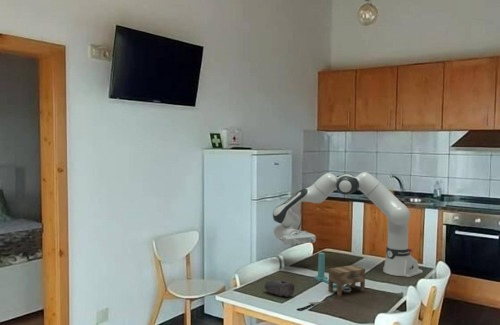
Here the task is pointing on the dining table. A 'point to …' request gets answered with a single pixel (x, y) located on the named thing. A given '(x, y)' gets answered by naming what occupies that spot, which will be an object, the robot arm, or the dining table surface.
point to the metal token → (346, 289)
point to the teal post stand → (321, 270)
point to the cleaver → (309, 306)
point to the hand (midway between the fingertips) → (307, 242)
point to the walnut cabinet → (346, 277)
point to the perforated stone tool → (280, 288)
